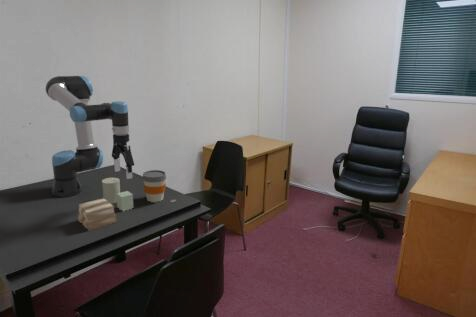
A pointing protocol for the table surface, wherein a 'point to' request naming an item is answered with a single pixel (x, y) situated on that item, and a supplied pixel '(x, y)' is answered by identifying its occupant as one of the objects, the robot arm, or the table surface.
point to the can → (111, 189)
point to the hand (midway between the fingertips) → (123, 174)
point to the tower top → (96, 209)
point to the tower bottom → (96, 222)
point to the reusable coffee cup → (154, 185)
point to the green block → (124, 200)
